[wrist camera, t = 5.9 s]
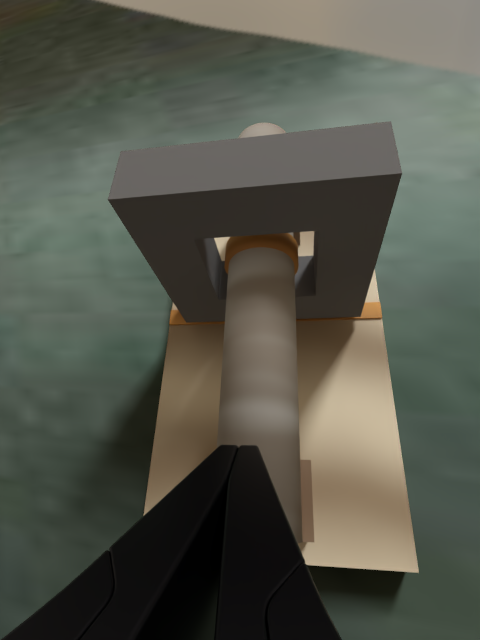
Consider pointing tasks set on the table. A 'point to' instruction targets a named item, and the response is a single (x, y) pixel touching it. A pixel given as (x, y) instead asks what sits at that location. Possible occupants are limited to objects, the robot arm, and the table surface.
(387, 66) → the table surface
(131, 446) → the table surface
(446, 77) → the table surface
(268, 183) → the collar
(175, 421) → the pipe rig
